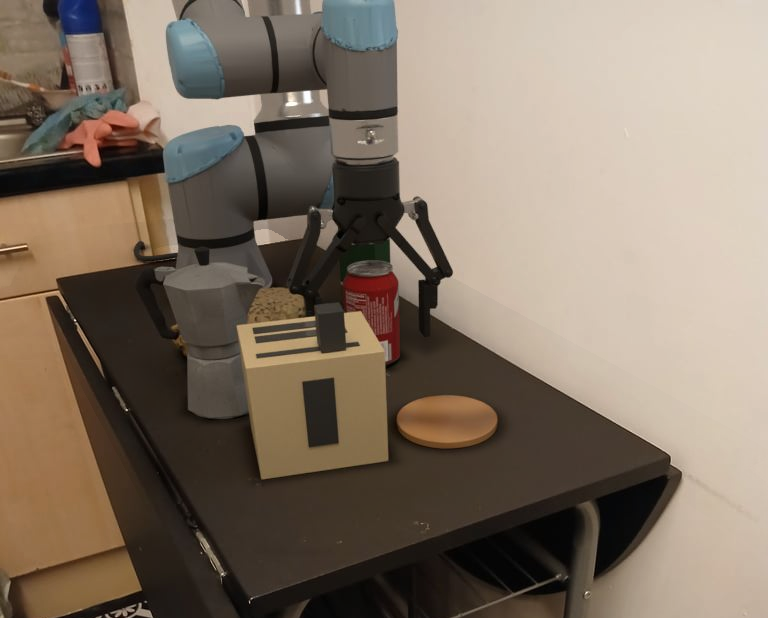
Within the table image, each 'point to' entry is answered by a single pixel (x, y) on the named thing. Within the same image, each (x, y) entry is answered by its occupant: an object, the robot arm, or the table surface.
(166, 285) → the coffeepot
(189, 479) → the table surface
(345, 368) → the toaster
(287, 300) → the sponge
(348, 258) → the beer bottle
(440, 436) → the coaster
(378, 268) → the soda can
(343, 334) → the browning slider
